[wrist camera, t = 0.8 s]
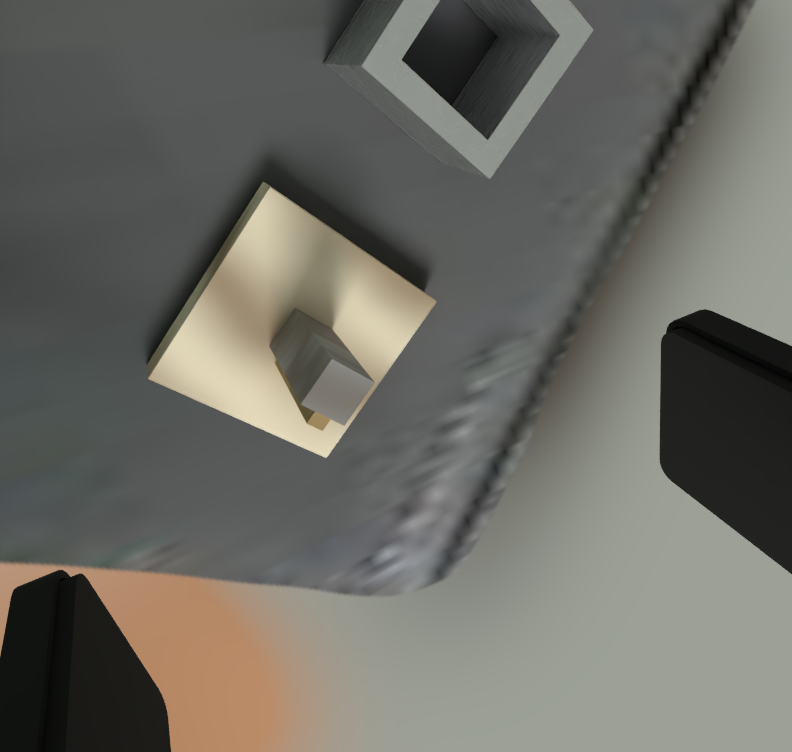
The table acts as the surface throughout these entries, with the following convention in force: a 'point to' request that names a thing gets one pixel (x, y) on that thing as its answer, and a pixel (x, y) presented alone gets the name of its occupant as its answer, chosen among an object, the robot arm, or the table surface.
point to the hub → (485, 90)
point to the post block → (289, 326)
